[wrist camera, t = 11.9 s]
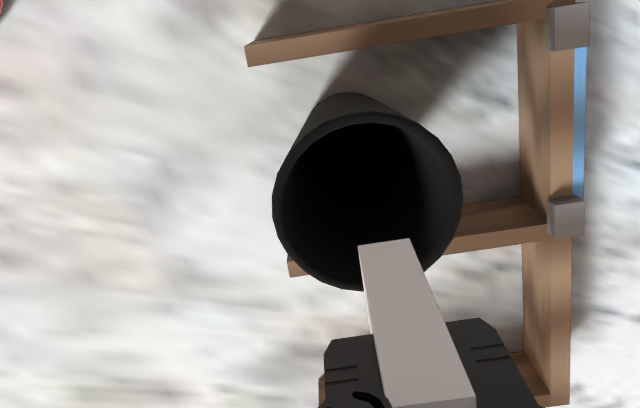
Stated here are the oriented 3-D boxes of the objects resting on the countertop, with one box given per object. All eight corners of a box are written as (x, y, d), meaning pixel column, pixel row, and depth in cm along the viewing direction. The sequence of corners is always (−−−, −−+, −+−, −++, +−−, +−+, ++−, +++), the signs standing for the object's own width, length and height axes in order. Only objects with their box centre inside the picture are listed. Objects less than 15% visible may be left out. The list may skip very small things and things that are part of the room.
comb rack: (253, 40, 30) (241, 47, 25) (548, -8, 29) (598, -11, 24) (320, 390, 39) (321, 449, 34) (549, 359, 38) (586, 414, 33)
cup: (407, 67, 31) (463, 102, 20) (413, 190, 33) (465, 283, 22) (277, 81, 31) (258, 124, 20) (293, 202, 34) (284, 300, 22)
